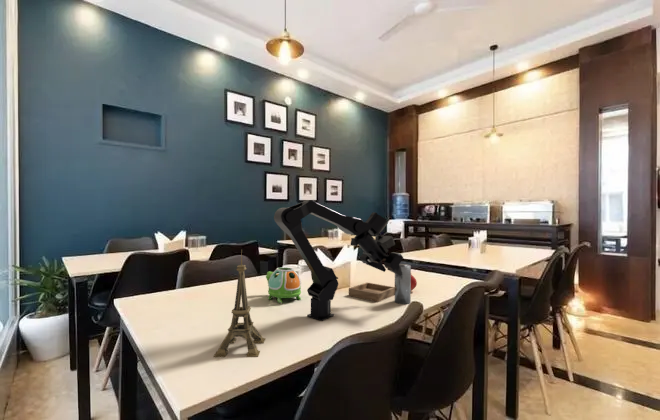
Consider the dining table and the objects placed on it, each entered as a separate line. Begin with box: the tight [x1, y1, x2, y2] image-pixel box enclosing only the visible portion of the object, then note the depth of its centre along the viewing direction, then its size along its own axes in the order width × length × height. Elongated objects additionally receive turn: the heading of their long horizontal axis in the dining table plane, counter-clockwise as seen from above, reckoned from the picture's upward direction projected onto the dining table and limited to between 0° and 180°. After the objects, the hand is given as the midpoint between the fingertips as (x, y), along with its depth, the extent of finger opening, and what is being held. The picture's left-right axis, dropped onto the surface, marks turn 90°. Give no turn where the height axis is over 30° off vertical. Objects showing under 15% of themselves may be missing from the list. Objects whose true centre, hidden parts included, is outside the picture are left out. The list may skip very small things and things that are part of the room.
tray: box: [348, 282, 395, 303], centre depth 133 cm, size 14×14×3 cm
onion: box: [411, 274, 418, 292], centre depth 140 cm, size 6×6×8 cm
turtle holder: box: [265, 266, 302, 304], centre depth 129 cm, size 12×18×12 cm
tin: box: [394, 263, 412, 305], centre depth 124 cm, size 6×6×14 cm
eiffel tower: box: [212, 249, 266, 358], centre depth 82 cm, size 11×11×25 cm
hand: (393, 272), depth 122 cm, fingers open, 9 cm apart
